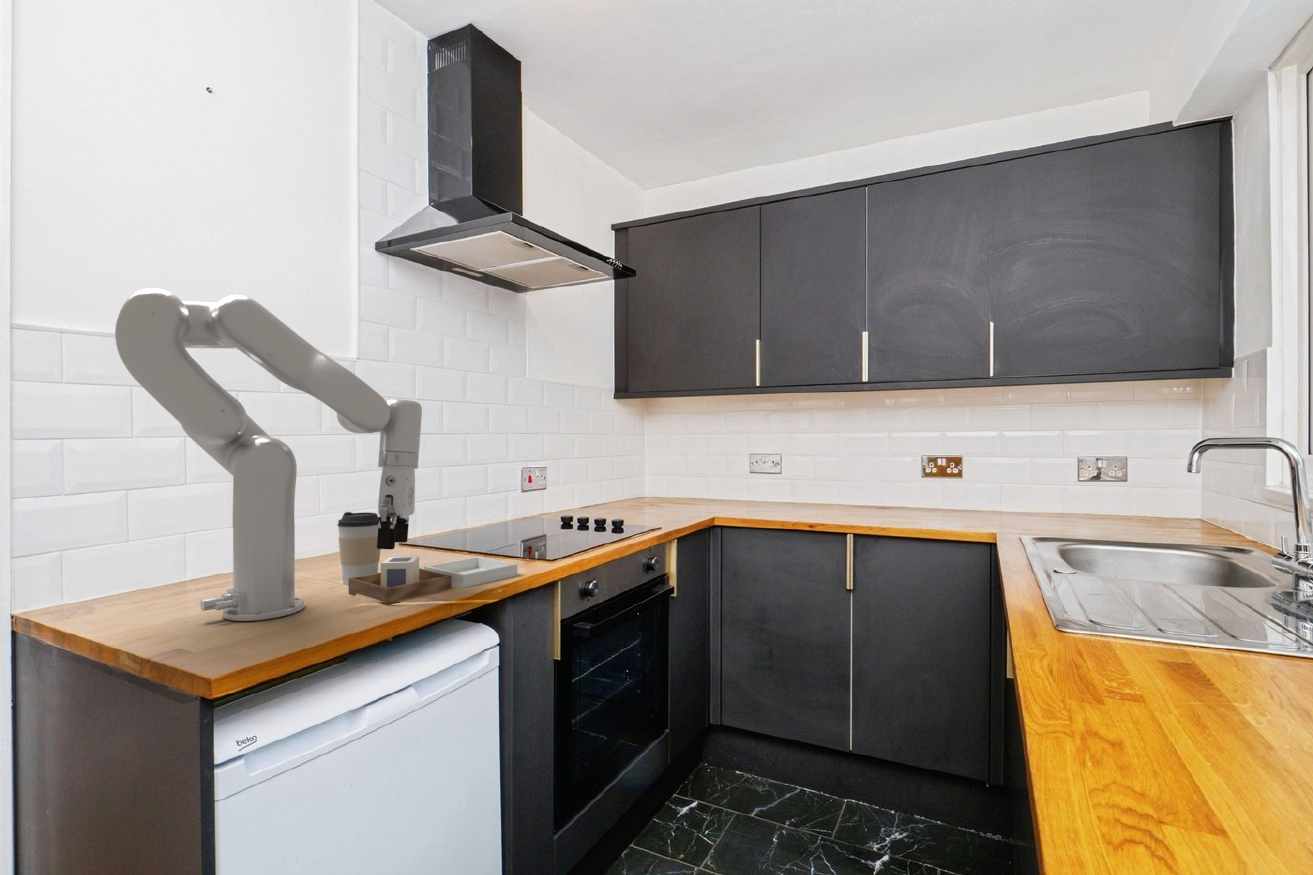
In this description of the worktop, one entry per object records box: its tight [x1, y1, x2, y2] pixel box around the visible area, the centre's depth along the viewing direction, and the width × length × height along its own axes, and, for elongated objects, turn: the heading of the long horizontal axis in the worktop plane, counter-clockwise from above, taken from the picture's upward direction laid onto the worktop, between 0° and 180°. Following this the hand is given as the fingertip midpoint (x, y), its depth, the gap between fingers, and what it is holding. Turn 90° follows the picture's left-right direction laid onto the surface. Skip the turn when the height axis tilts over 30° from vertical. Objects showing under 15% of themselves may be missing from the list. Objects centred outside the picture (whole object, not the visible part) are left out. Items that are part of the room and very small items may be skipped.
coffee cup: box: [336, 511, 381, 586], centre depth 140 cm, size 9×9×15 cm
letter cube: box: [380, 556, 420, 588], centre depth 131 cm, size 6×6×6 cm
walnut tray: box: [348, 567, 453, 606], centre depth 131 cm, size 14×14×3 cm
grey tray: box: [423, 556, 518, 589], centre depth 143 cm, size 14×14×3 cm
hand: (392, 545), depth 130 cm, fingers open, 9 cm apart
